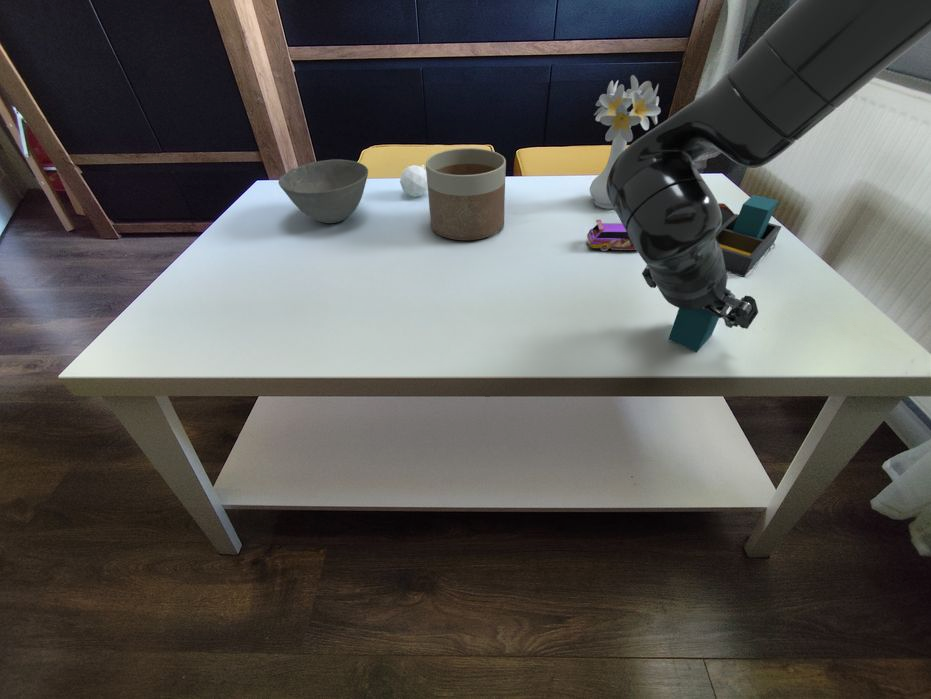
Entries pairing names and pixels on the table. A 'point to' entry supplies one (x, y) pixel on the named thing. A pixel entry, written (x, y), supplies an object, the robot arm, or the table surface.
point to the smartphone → (725, 213)
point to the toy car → (609, 237)
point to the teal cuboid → (755, 216)
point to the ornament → (414, 180)
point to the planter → (466, 193)
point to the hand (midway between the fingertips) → (703, 307)
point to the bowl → (326, 188)
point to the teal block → (692, 328)
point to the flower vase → (622, 125)
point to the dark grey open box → (743, 246)
